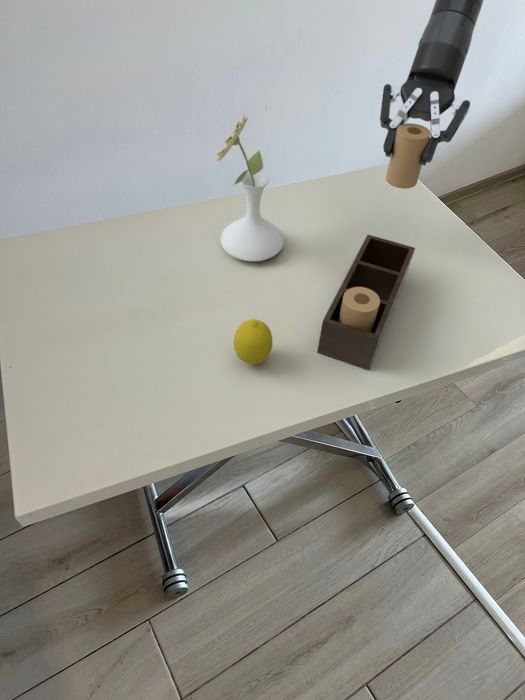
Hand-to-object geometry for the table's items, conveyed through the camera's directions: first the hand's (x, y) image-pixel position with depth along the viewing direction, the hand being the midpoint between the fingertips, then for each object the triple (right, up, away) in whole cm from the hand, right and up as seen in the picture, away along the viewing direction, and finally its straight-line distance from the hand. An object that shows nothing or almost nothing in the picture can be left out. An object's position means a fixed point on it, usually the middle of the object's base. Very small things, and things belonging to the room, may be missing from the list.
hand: (405, 158), depth 84 cm
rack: (-6, -24, +2) cm, 25 cm away
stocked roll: (-9, -29, -3) cm, 31 cm away
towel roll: (+1, -2, +5) cm, 5 cm away
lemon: (-24, -32, -6) cm, 41 cm away
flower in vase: (-25, -12, +12) cm, 31 cm away
